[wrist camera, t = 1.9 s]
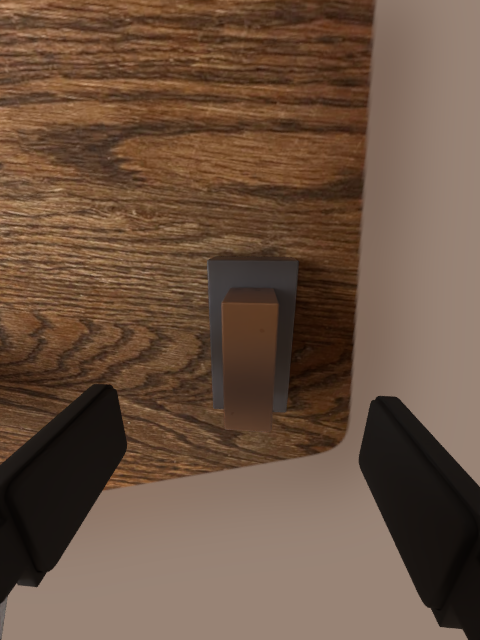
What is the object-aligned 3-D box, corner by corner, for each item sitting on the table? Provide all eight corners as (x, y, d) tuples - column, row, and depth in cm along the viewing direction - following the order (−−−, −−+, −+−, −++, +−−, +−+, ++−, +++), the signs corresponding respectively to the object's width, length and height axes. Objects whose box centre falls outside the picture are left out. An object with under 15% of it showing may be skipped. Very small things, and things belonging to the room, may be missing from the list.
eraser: (214, 256, 15) (189, 266, 10) (292, 257, 15) (313, 267, 9) (219, 387, 18) (202, 450, 13) (282, 390, 18) (293, 456, 13)
